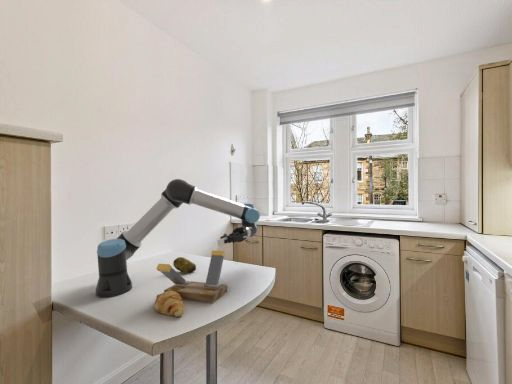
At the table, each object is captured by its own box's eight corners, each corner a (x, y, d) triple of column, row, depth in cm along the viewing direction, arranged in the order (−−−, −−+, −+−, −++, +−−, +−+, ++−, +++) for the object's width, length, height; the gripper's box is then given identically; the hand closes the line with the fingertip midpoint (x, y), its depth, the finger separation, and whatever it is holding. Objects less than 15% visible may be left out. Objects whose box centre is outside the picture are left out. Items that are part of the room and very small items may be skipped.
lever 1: (176, 280, 118) (157, 263, 108) (188, 281, 116) (170, 264, 106) (174, 285, 117) (155, 268, 107) (186, 286, 115) (167, 269, 104)
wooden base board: (182, 286, 123) (182, 279, 123) (227, 291, 114) (227, 284, 114) (164, 297, 112) (164, 289, 112) (213, 303, 103) (212, 294, 103)
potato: (185, 276, 139) (184, 261, 139) (171, 272, 147) (170, 258, 147) (198, 271, 146) (197, 257, 146) (183, 268, 154) (183, 254, 154)
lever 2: (206, 287, 112) (213, 252, 119) (219, 288, 109) (226, 252, 116) (203, 286, 110) (211, 250, 117) (216, 287, 107) (223, 250, 114)
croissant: (189, 325, 94) (197, 302, 96) (164, 321, 88) (173, 297, 90) (165, 306, 110) (173, 287, 112) (142, 302, 104) (151, 282, 106)
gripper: (253, 240, 137) (232, 251, 115) (231, 240, 142) (207, 251, 120) (252, 226, 137) (231, 234, 115) (230, 226, 142) (206, 234, 120)
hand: (219, 243), depth 118 cm, fingers closed
